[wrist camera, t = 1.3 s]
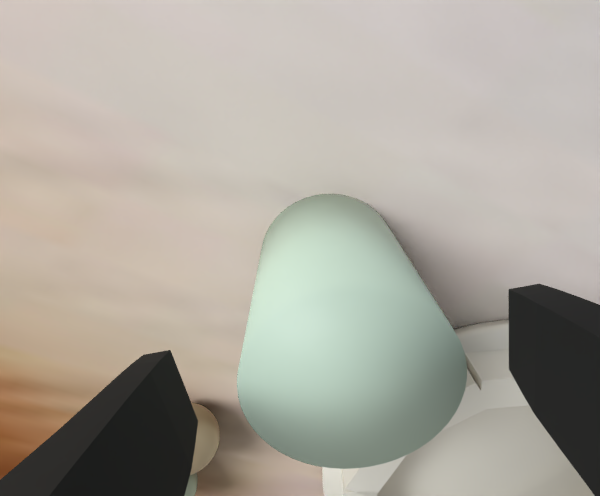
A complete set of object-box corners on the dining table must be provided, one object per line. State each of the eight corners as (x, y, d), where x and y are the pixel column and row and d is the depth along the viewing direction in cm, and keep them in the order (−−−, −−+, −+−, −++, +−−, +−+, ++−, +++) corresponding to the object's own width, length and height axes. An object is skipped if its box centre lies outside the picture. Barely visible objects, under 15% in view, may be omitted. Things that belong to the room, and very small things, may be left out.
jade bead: (393, 186, 12) (474, 274, 7) (395, 309, 14) (461, 459, 9) (251, 201, 12) (217, 299, 7) (270, 321, 14) (254, 477, 9)
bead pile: (218, 386, 15) (205, 438, 13) (239, 476, 17) (231, 535, 15) (60, 400, 15) (21, 454, 13) (98, 488, 17) (69, 548, 15)
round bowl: (706, 301, 14) (768, 334, 12) (622, 552, 19) (656, 601, 18) (306, 338, 14) (308, 376, 13) (333, 573, 20) (337, 624, 18)
